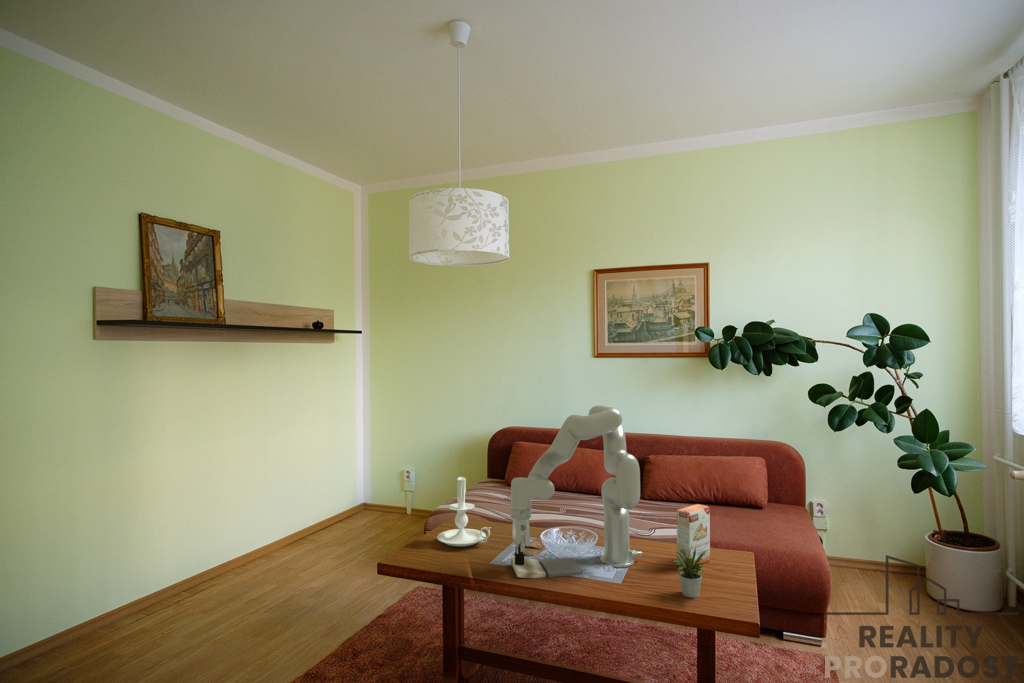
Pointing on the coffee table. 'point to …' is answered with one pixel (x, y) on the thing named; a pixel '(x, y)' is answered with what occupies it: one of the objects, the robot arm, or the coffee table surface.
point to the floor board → (560, 567)
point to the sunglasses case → (534, 548)
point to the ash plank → (529, 569)
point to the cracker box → (694, 532)
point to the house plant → (690, 573)
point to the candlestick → (462, 522)
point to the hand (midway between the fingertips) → (519, 564)
